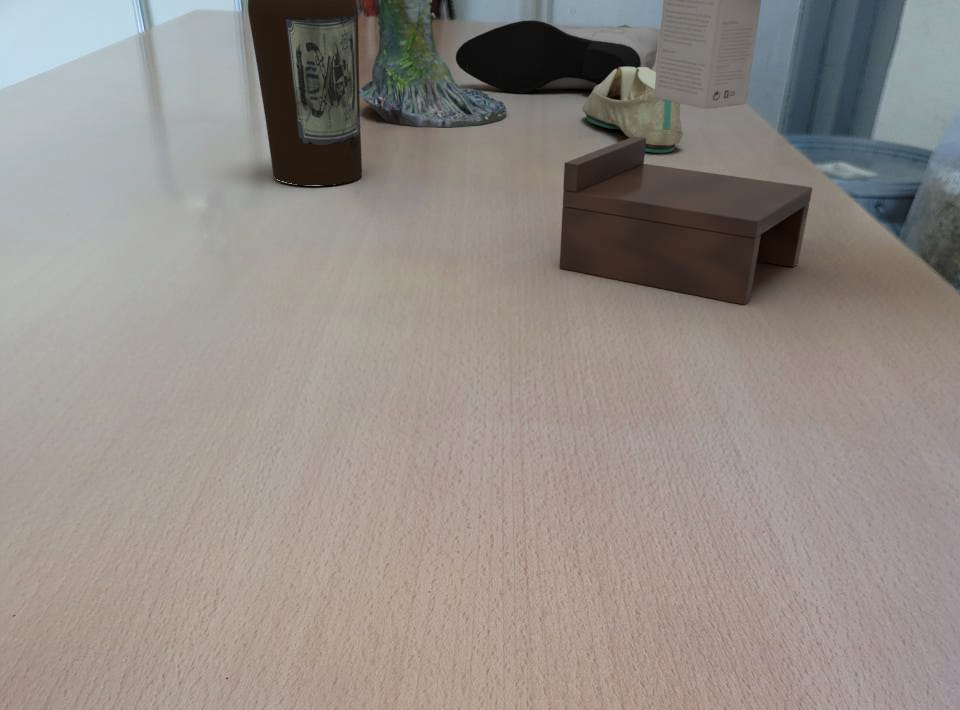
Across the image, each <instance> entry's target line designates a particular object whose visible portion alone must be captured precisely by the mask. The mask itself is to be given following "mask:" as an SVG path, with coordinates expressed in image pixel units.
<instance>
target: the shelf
mask: <svg viewBox="0 0 960 710" xmlns="http://www.w3.org/2000/svg"><path fill="white" fill-rule="evenodd" d="M645 145H646V138H642V137H635V136H634V137H631V138H626V139H623V140H621V141H618V142H615V143H613V144H610V145H608V146H605V147H603V148H600V149H596V150H595V151H591V152H589V153H587V154H584V155H582V156H579V157H577V158H574V159H571V160H568V161H566V162H564V166H563V167H564V169H563V184H562V185H563V187H562V188H563V189H562V190H563V191H562V210H561V211H562V212H561V229H560V249H559V269H562V270H568V271H573V272H578V273H583V274H587V275H588V274H589V275H593V276H598V277H601V278H608V279H613V280H618V281H622V282H627V283H633V284H638V285H642V286H648V287H653V288H658V289H662V290H667V291H668V290H669V291H674V292H677V293H683V294H688V295H693V296H698V297H702V298H703V297H704V298H709V299H714V300H717V301H722V302H729V303H734V304H739V305H746V304H748V302H750V301H751V297H752V290H753V285H754V279H755V274H756V273H755V272H756V267H757V262H758V263H759V262H760V263H765V264H769V263H772V264H771V265H775V264H777V265H776V266H781V265H784V266H783V267H786V266H790V267H789V268H792V267H793V268H795V267H796V266H797V265H798V264H799V261H800V255H801V249H802V244H803V239H804V234H805V229H806V225H807V224H806V223H807V218H808V214H809V209H810V208H809V207H810V202H811V198H812V192H813V187H812V186H807V185H806V186H805V185H797V184H791V183H784V182H778V181H770V180H762V179H756V178H748V177H743V176H741V177H740V176H735V175H727V174H721V173H720V174H719V173H712V172H705V171H699V170H691V169H685V168H684V169H683V168H677V167H669V166H663V165H662V166H661V165H657V164H656V165H655V164H649V163H645V156H646V155H645V154H646V151H645ZM796 264H797V265H796ZM795 265H796V266H795ZM791 266H792V267H791ZM794 266H795V267H794Z"/></svg>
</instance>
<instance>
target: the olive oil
mask: <svg viewBox="0 0 960 710" xmlns="http://www.w3.org/2000/svg"><path fill="white" fill-rule="evenodd" d="M247 13H248V14H247V15H248V20H249V26H250V33H251V38H252V43H253V50H254V56H255V62H256V68H257V74H258V81H259V85H260V86H259V87H260V94H261V100H262V106H263V112H264V119H265V126H266V132H267V139H268V146H269V153H270V161H271V167H272V174H273V178H274V177H275V178H276V179H278V180H280V181H284V182H287V183H292V184H297V185H332V186H335V185H334V184H339V185H344V184H348V183H349V184H350V183H352V182H354V181H357V180H358V179H360V178H361V177H362V175H363V162H362V160H363V159H362V136H361V106H360V105H361V103H360V102H361V100H360V98H361V96H360V95H359V94H360V93H359V91H360V58H359V57H360V54H359V53H360V52H359V51H360V50H359V49H360V48H359V47H360V46H359V44H360V43H359V7H358V1H357V0H247ZM275 178H274V179H275ZM276 179H275V180H276ZM343 183H344V184H343Z"/></svg>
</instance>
